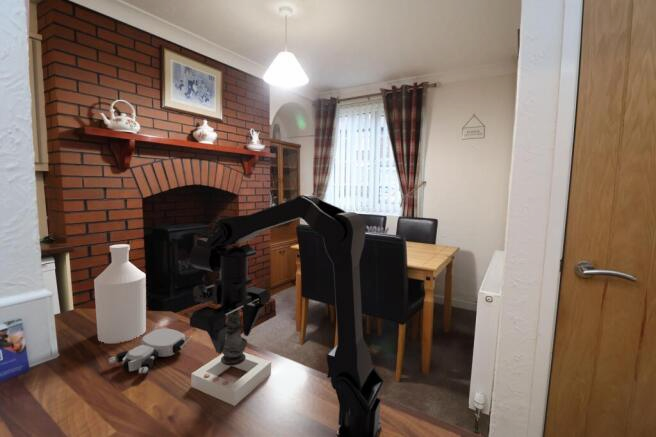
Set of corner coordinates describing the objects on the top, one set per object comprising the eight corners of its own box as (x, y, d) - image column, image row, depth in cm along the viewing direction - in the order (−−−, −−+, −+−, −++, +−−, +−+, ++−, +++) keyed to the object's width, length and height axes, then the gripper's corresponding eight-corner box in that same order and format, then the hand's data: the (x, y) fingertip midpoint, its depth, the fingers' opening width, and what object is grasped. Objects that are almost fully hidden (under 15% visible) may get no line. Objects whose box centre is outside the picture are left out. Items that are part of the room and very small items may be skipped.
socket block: (270, 373, 73) (271, 360, 73) (234, 405, 62) (234, 390, 62) (231, 359, 78) (231, 347, 78) (191, 386, 67) (191, 372, 67)
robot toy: (145, 386, 69) (195, 348, 82) (143, 367, 68) (194, 332, 82) (105, 372, 73) (159, 338, 87) (103, 354, 72) (158, 323, 86)
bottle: (91, 332, 88) (87, 244, 85) (139, 320, 97) (136, 240, 94) (102, 348, 80) (98, 252, 77) (153, 333, 89) (151, 246, 86)
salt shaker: (220, 368, 66) (220, 313, 64) (218, 354, 71) (218, 303, 70) (249, 363, 68) (249, 310, 67) (245, 349, 74) (245, 300, 72)
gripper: (235, 260, 79) (234, 319, 81) (169, 279, 63) (170, 354, 64) (271, 267, 75) (270, 329, 76) (211, 290, 58) (211, 369, 60)
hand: (233, 343), depth 69 cm, fingers closed on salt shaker, 8 cm apart
